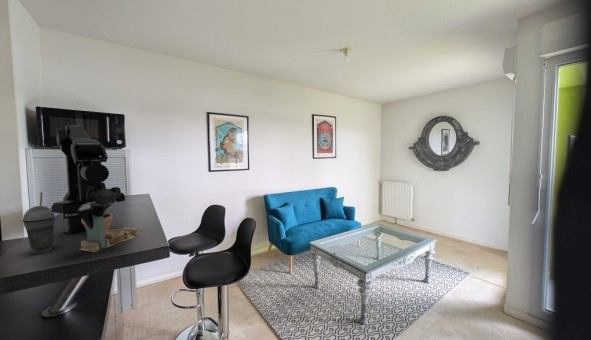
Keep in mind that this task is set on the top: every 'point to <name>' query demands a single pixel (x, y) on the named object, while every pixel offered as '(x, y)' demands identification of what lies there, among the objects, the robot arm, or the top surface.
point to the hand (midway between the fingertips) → (94, 227)
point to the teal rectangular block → (97, 231)
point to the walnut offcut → (117, 239)
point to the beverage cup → (39, 228)
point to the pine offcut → (113, 233)
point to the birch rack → (94, 246)
